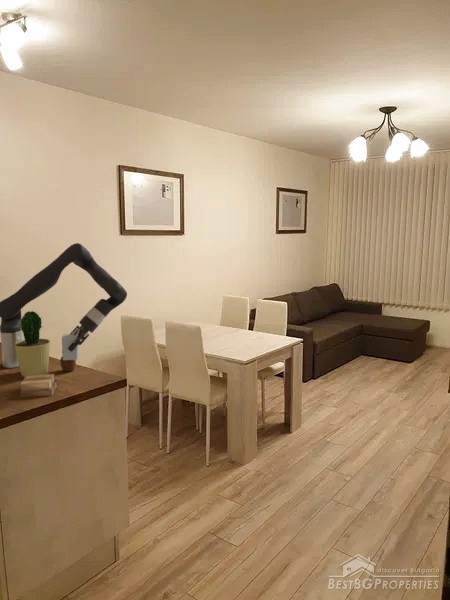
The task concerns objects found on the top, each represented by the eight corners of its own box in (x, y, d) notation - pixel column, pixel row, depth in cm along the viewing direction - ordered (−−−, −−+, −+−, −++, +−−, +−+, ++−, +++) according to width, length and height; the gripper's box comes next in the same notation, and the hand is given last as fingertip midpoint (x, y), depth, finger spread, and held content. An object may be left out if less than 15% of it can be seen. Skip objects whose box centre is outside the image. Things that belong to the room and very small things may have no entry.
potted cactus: (22, 381, 200) (17, 314, 195) (12, 372, 212) (7, 309, 207) (57, 374, 210) (53, 310, 205) (46, 366, 222) (41, 305, 217)
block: (64, 356, 203) (63, 334, 201) (78, 355, 204) (77, 334, 202) (62, 360, 197) (61, 337, 195) (77, 359, 198) (76, 337, 196)
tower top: (27, 382, 192) (26, 375, 192) (54, 380, 194) (54, 373, 194) (21, 391, 182) (20, 384, 181) (49, 389, 184) (49, 382, 183)
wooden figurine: (78, 369, 216) (76, 339, 214) (70, 373, 211) (68, 342, 209) (66, 368, 219) (64, 338, 216) (58, 371, 213) (56, 340, 211)
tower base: (27, 388, 193) (27, 381, 193) (57, 386, 195) (56, 380, 195) (20, 398, 181) (20, 391, 181) (52, 396, 184) (51, 389, 183)
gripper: (103, 328, 199) (77, 357, 195) (94, 321, 211) (69, 349, 207) (90, 317, 195) (64, 346, 191) (82, 311, 207) (57, 339, 203)
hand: (67, 348), depth 199 cm, fingers closed on block, 8 cm apart
